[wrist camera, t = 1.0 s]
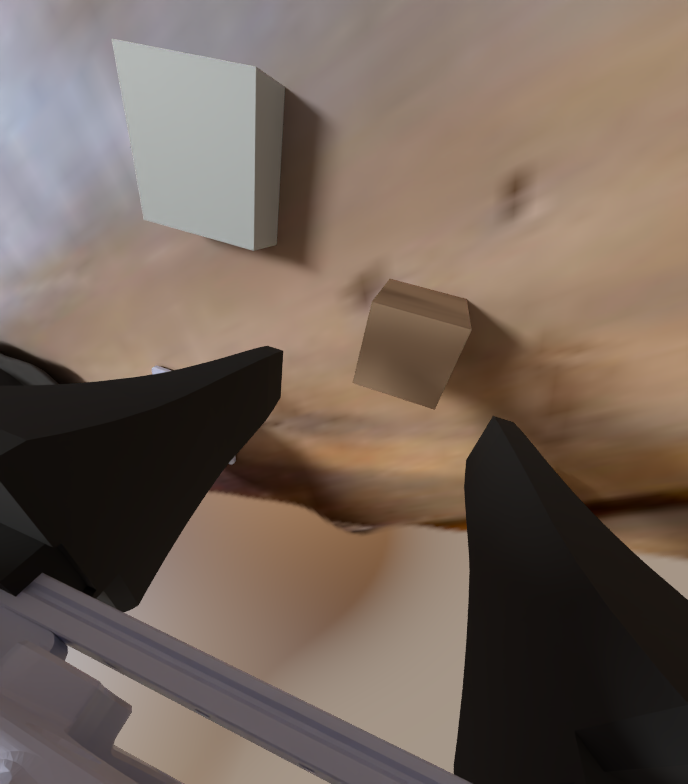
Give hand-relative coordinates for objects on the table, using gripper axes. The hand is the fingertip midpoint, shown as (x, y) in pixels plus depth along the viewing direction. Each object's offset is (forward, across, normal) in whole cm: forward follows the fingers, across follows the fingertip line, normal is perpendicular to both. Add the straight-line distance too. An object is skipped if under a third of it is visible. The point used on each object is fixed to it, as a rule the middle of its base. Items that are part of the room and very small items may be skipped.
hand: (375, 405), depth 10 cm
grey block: (+10, +12, -6) cm, 17 cm away
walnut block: (+10, -1, 0) cm, 10 cm away
